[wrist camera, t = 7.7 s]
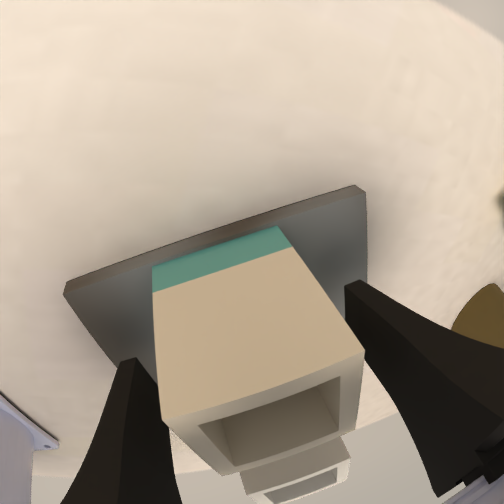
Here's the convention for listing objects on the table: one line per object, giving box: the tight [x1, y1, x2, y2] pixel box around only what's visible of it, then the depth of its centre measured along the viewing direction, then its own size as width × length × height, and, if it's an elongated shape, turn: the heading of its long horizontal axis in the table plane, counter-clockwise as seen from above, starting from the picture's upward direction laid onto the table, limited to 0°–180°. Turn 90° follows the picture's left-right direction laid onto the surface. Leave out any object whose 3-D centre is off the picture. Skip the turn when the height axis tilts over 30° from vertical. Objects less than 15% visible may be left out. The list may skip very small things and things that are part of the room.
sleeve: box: [152, 225, 365, 476], centre depth 10 cm, size 5×5×6 cm
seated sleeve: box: [240, 436, 351, 504], centre depth 15 cm, size 5×5×6 cm
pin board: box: [63, 185, 367, 385], centre depth 14 cm, size 12×13×4 cm
